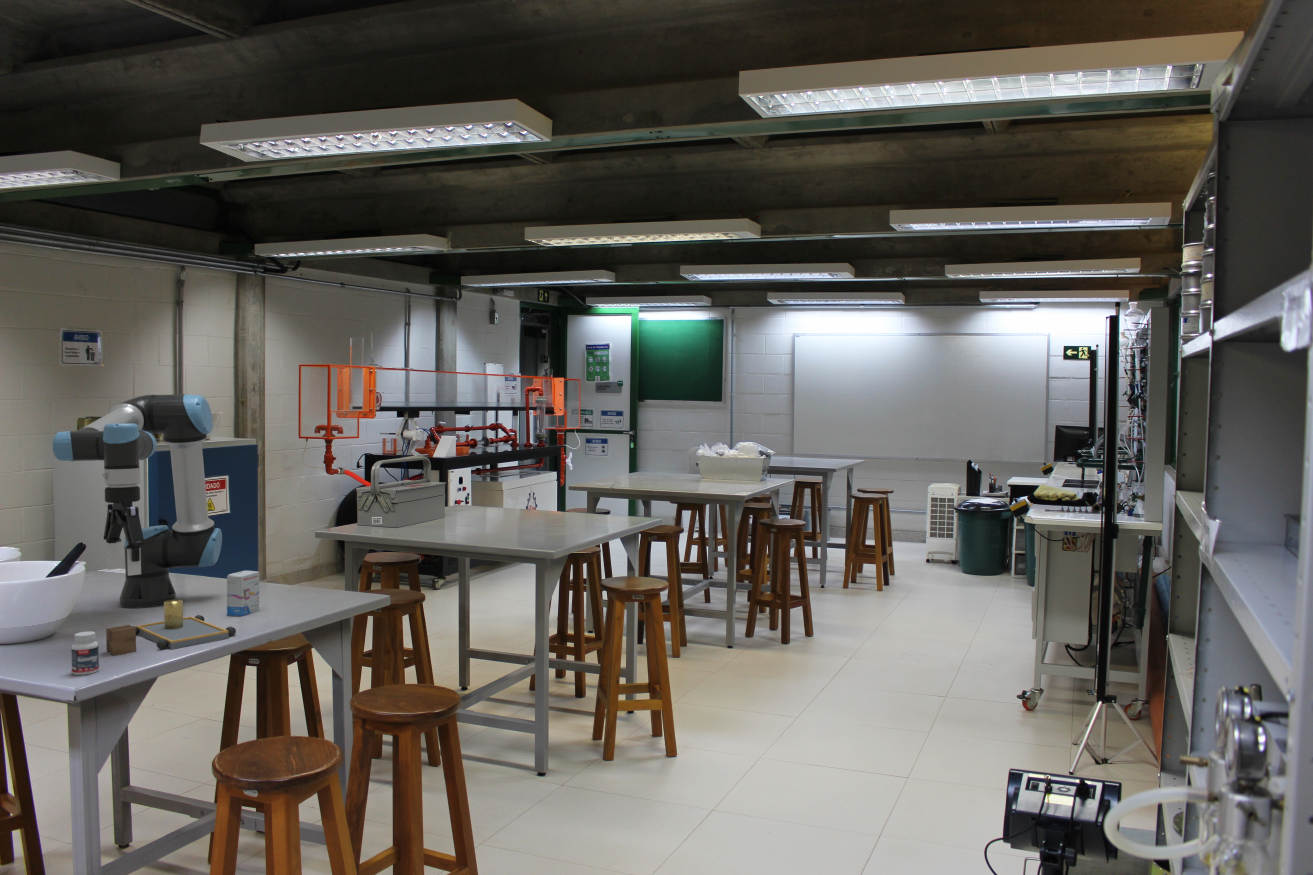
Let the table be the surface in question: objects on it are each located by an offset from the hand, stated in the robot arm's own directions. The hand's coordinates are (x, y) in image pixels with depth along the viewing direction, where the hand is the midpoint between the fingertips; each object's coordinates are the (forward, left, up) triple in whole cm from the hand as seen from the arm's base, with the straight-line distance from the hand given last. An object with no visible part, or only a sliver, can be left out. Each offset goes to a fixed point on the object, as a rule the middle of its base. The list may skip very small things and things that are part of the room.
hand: (124, 571), depth 225 cm
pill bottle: (+13, -13, -20) cm, 27 cm away
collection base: (-5, +15, -20) cm, 25 cm away
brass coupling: (-9, +15, -18) cm, 25 cm away
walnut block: (0, -1, -20) cm, 20 cm away
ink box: (-19, +37, -20) cm, 46 cm away
